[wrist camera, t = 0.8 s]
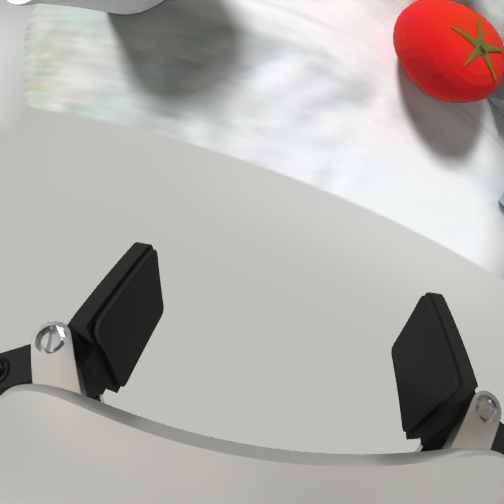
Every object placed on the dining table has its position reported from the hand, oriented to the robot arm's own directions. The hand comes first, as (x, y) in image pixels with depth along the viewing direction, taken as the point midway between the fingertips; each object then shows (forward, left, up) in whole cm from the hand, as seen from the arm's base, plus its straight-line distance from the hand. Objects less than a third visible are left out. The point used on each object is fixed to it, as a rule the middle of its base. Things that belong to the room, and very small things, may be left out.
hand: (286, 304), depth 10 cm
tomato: (-18, +7, -27) cm, 33 cm away
